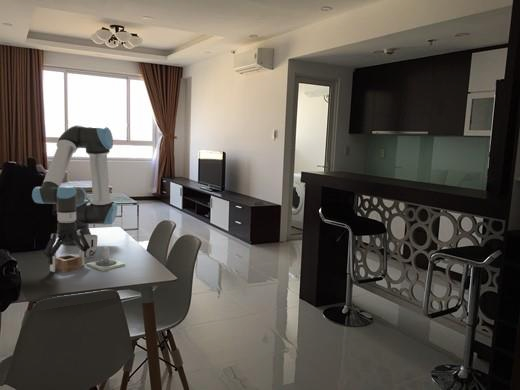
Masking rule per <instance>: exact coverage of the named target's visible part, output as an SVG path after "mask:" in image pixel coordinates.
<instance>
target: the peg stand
mask: <svg viewBox="0 0 520 390" xmlns="http://www.w3.org/2000/svg"><path fill="white" fill-rule="evenodd" d="M86 266H88V267H90V268H93V269H95V270H98V271H101V272H105V271H108V270H112V269H117V268H120V267H121V268H122V267H125V266H126V262H123V261H120V260H116V259H113V258H110V246H109V247H108V246H107V247H106V246H104V247H102V259H100V260H95V261H91V262H88V263H86Z"/></svg>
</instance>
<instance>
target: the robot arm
mask: <svg viewBox="0 0 520 390" xmlns="http://www.w3.org/2000/svg"><path fill="white" fill-rule="evenodd" d="M113 143H114V138H113V134H112V131H111V129H110V128H109V127H107V126H102V125H81V124H79V125H78V124H77V125H73V126H71V127H69V128H68V129H66V130H65V131H64V132H63V133H62V134H61V135H60V136H59V138H58V139H57V142H56V150H55V152H54V155H53V158H52V160H51V162H50V164H49V167H48V170H47V172H46V174H45V176H44V180H43V182H42V185H41V186H35V187H34V188H33V190H32V192H31V193H32V194H31V198H32V200H33V202H34V203H36V204H43V205H44V204H48V205H49V204H52V205H53V204H55V205H56V206H57V221H58V222H57V233H50V237H49V241H48V243H47V245H46V247H45V249H44V252H43V253H42V254H43V256H44V257H46V258H47V263H48V265H49V271H50V272H52V273H55V272H56V269H55V257H56V256H55V254H56V253H57V251H58V250H59V249H60V247H61V246H62V245H63V244H64V245H66V246H69V245H70V246H77V247H78V248H79V249H80V250H79V254H78V257H81V267H82V266H85V258H86V251H87V249H89V248H90V246H89V244H88V243H87V241H86V239H85V237H84V235H92V233H91V231H90V226H89V225H104V226H105V225H113V224H114V222H115V220H116V217H117V214H118V205H117V203H114V200H113V198H112V197H110V181H109V168H108V167H109V166H108V154H109V153H110V152H111V151H110V150H112V149H113V146H114V144H113ZM78 149H85V152H86V154H87V155H88V156H89V166H90V178H91V190H92V199H90V200H88V199H87V198H88V195H87V194H88V193H87V191H86V190H85V189H84V188H83V187H80V186H78V187H76V186H74V185H62V184H63V181H64V178H65V176H66V173H67V169H68V167H69V164H70V162H71V159H72V157H73V155H74V154H75V153H76V152H77V150H78ZM80 240H81V241H82V243H83V245H84V246H83V245H82V244H81V243H80ZM81 250H82V251H81Z"/></svg>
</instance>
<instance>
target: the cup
mask: <svg viewBox="0 0 520 390" xmlns="http://www.w3.org/2000/svg"><path fill="white" fill-rule="evenodd" d="M84 237H85V239H86V241H87V243H88V244H89V246H90V248H89V249H87V251H86V257H85V258H93V257H95V256H96V252H97V248H98V235H97V234H91V235H84ZM80 243H81V244H82V245H83V243H82V241H81V240H80ZM83 246H84V245H83ZM80 250H81V249H80ZM81 251H82V250H81Z"/></svg>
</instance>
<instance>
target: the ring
mask: <svg viewBox="0 0 520 390" xmlns="http://www.w3.org/2000/svg"><path fill="white" fill-rule="evenodd" d="M54 257H55V270H56V271H60V272H63V273H66V272H72V271H75V270H79V269H80V270H81V269H82V265H81V257H79V255H75V254H73V253H70V254H65V255H59V256H54Z"/></svg>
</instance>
